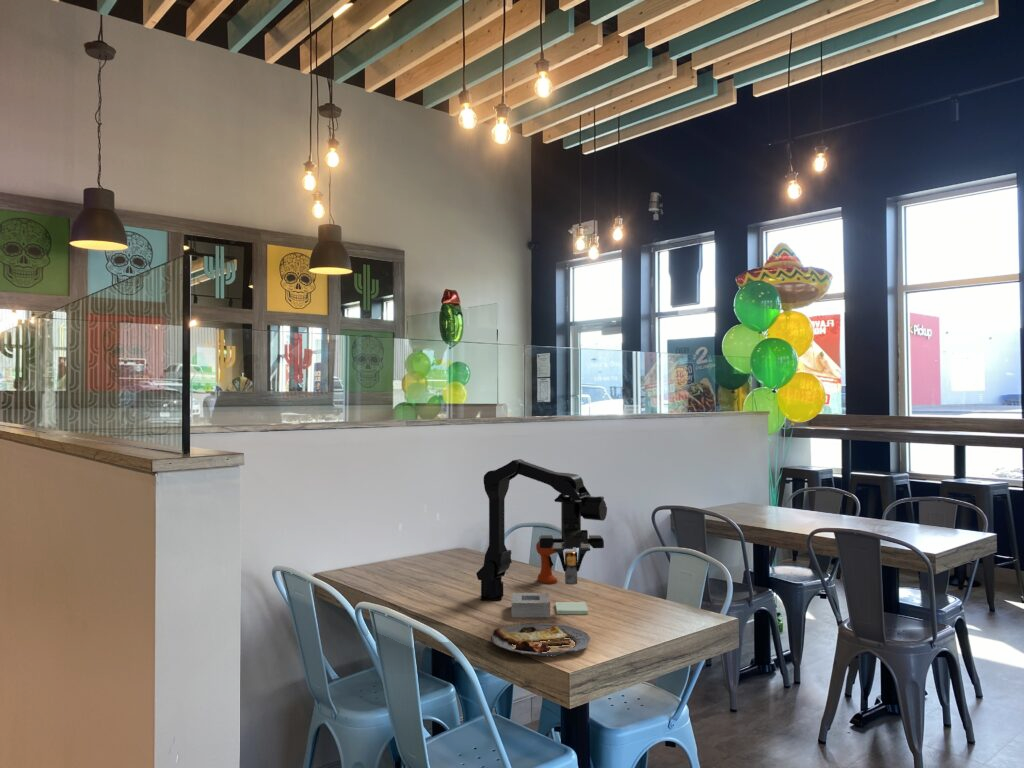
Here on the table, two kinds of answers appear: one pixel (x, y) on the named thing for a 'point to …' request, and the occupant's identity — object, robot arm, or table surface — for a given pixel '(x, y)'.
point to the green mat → (571, 608)
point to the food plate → (539, 638)
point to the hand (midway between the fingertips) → (571, 571)
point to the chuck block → (530, 605)
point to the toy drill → (547, 564)
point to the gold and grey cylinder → (570, 567)
